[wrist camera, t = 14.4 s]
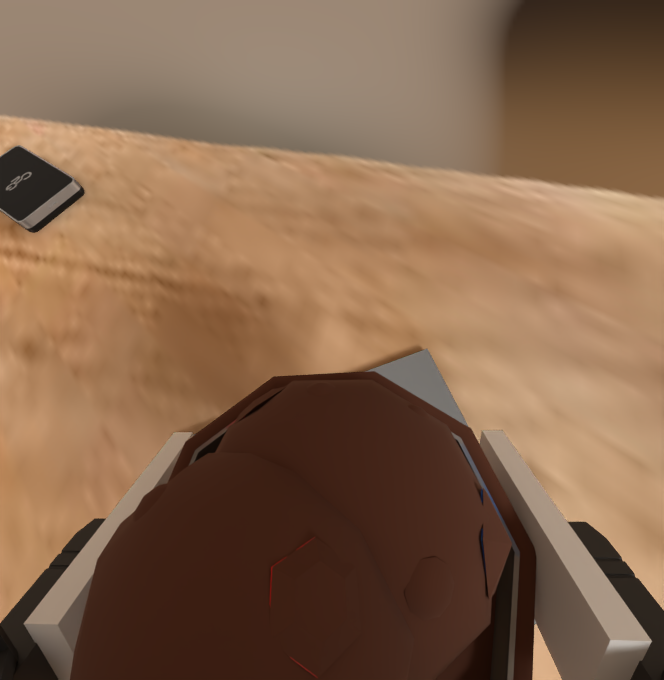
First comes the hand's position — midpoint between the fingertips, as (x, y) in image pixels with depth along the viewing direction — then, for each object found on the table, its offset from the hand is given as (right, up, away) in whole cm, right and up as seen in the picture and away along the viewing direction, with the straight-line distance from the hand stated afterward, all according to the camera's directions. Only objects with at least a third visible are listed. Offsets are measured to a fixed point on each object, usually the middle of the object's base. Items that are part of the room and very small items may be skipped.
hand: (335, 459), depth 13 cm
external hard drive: (-33, +20, +23) cm, 45 cm away
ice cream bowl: (0, -5, +5) cm, 7 cm away
